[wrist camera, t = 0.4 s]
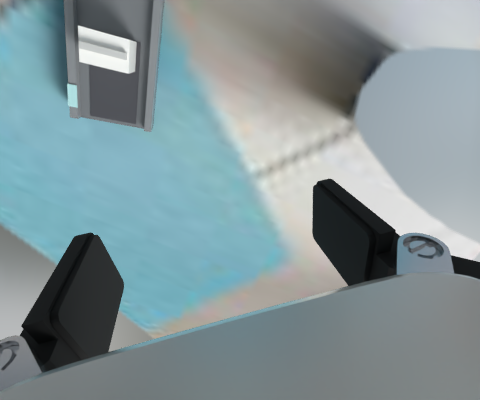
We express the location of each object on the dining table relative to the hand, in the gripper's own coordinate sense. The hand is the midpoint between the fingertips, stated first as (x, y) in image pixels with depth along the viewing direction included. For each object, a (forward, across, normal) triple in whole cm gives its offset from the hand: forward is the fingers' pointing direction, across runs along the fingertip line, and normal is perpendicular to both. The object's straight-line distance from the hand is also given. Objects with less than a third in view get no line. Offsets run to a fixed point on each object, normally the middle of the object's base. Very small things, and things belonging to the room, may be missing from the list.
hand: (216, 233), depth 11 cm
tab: (+26, +7, -8) cm, 28 cm away
